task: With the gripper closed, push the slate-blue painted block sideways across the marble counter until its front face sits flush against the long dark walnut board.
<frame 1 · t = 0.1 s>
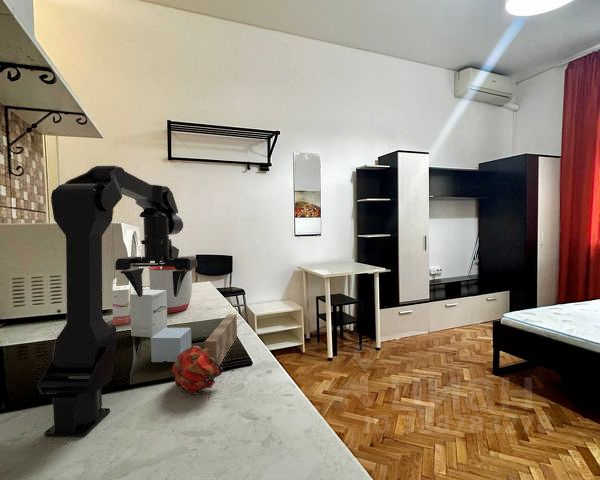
hand: (158, 296, 77), 14 cm above the worktop, fingers open, 9 cm apart
citrus juicer: (171, 309, 118), on the worktop
slate block: (172, 356, 76), on the worktop
dragon fruit: (197, 387, 61), on the worktop
walnut board: (223, 352, 77), on the worktop
ink cartridge box: (123, 321, 103), on the worktop
supplement box: (149, 333, 92), on the worktop
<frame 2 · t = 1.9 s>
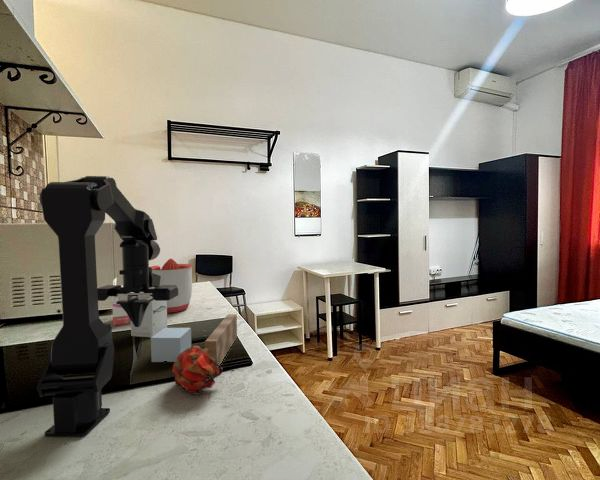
hand: (137, 326, 75), 7 cm above the worktop, fingers closed
nothing on the worktop moved.
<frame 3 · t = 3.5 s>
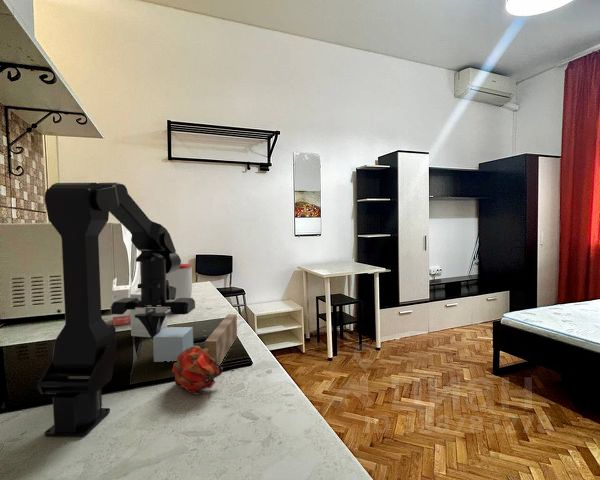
hand: (155, 339, 75), 4 cm above the worktop, fingers closed
slate block: (174, 355, 76), on the worktop, touching gripper
everything else where it was.
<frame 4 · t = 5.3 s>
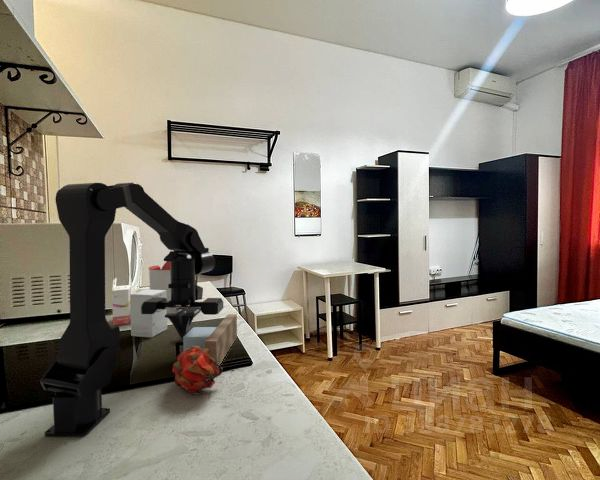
hand: (184, 339, 75), 4 cm above the worktop, fingers closed
slate block: (203, 355, 76), on the worktop, touching gripper, walnut board
everything else where it was.
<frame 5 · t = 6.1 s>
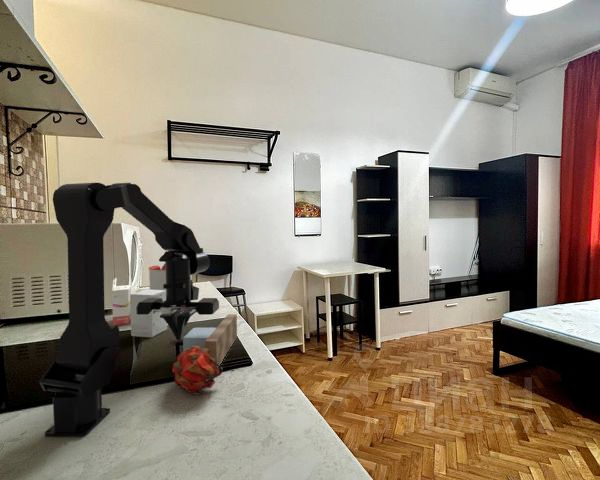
hand: (179, 339, 75), 4 cm above the worktop, fingers closed
slate block: (203, 355, 76), on the worktop
everything else where it was.
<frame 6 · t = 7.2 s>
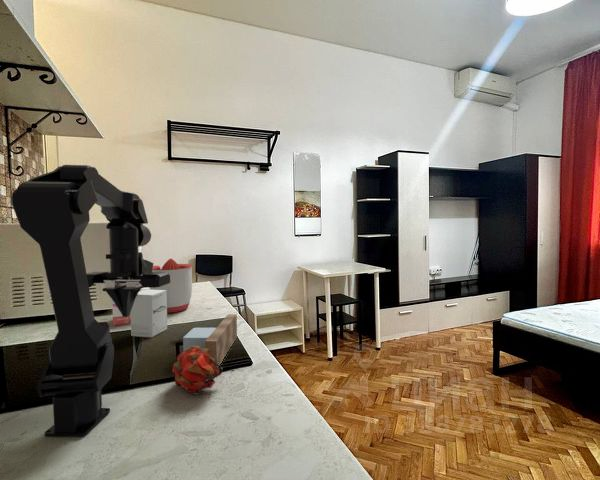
hand: (126, 316, 69), 12 cm above the worktop, fingers closed
nothing on the worktop moved.
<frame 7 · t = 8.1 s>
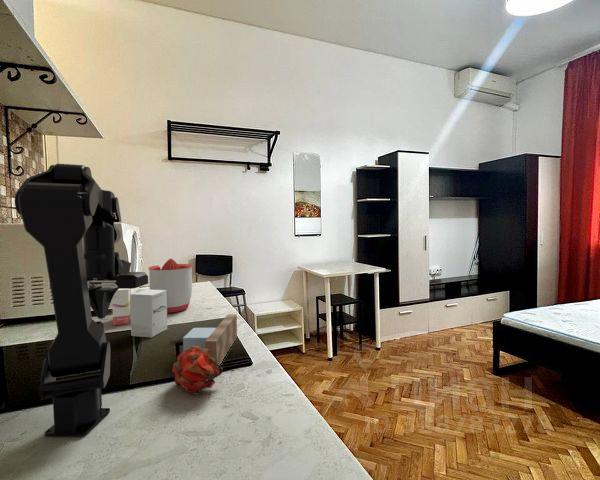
hand: (102, 318, 67), 12 cm above the worktop, fingers closed
nothing on the worktop moved.
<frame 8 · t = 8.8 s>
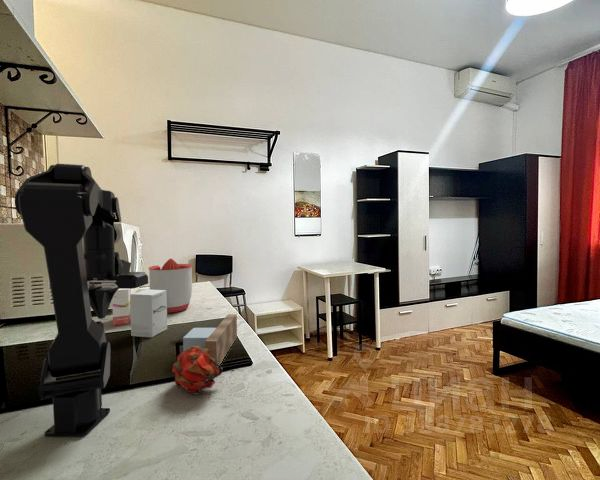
hand: (102, 318, 67), 12 cm above the worktop, fingers closed
nothing on the worktop moved.
at the end: slate block inside the target area on the worktop beside the walnut board (0.1 cm from its centre), on the worktop; slate block tilted 0° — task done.
